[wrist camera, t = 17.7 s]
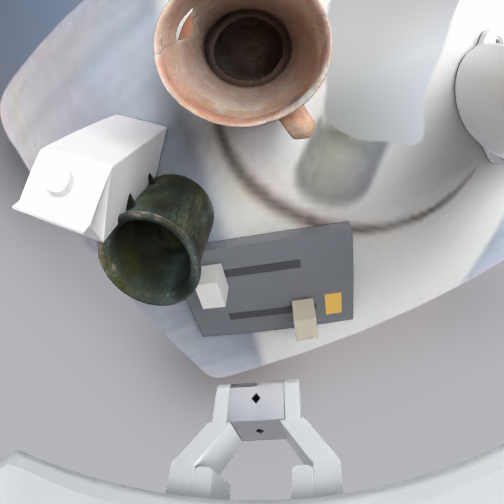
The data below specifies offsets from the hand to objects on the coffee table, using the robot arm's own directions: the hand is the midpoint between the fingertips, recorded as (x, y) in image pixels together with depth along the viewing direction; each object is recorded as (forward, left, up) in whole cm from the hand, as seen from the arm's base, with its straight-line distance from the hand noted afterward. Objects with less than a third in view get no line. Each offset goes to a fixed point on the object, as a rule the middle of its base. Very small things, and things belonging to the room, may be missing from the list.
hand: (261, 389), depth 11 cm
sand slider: (-2, +22, -27) cm, 35 cm away
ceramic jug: (-1, -12, -29) cm, 32 cm away
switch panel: (+3, +18, -29) cm, 34 cm away
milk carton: (+15, -5, -29) cm, 33 cm away
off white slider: (+10, +14, -27) cm, 32 cm away
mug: (+13, +3, -29) cm, 32 cm away
